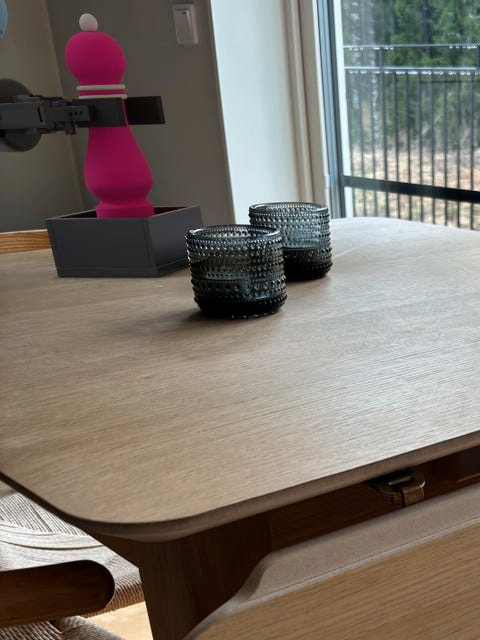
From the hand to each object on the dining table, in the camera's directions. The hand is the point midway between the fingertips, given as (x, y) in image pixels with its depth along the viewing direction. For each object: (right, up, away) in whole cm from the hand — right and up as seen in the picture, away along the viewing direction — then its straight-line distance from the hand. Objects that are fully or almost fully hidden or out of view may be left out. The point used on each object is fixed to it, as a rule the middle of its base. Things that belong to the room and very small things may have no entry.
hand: (141, 111), depth 104 cm
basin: (-4, -13, +10) cm, 17 cm away
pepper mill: (-4, -9, +8) cm, 12 cm away
